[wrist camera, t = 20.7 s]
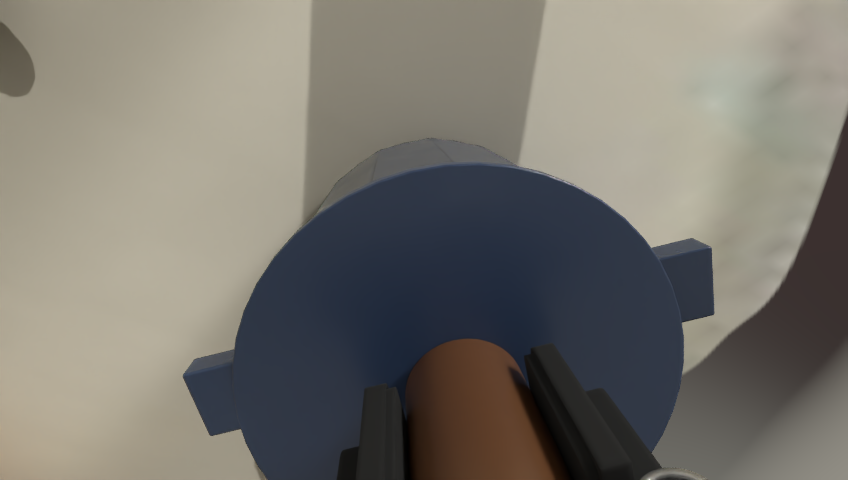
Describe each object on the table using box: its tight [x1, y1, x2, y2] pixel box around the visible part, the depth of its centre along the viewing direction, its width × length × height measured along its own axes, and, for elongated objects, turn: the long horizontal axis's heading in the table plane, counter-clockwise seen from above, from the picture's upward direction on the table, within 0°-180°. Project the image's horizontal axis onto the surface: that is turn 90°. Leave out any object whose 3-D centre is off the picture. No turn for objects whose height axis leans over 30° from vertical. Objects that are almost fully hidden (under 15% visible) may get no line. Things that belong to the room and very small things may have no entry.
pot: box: [183, 138, 714, 436], centre depth 18 cm, size 11×17×8 cm
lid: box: [232, 161, 684, 480], centre depth 10 cm, size 12×12×7 cm
